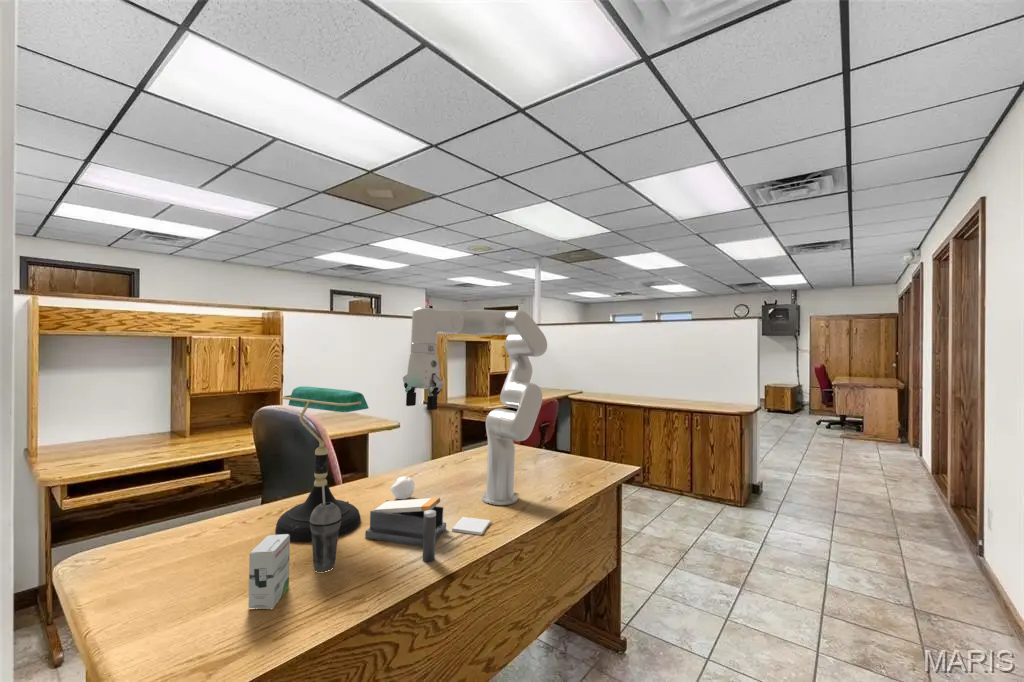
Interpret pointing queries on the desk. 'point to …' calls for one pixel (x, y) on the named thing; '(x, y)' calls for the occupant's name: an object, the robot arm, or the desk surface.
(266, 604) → the ink box
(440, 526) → the tilting lid box
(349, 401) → the banker's lamp
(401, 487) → the white lumpy ball
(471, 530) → the mat
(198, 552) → the desk surface
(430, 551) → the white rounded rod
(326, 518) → the beverage cup
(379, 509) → the tilting box lid
